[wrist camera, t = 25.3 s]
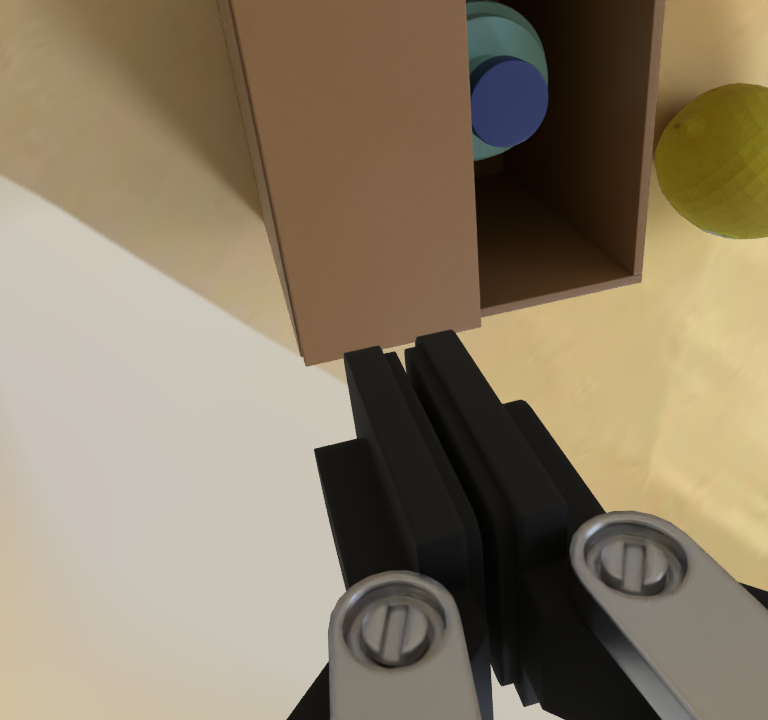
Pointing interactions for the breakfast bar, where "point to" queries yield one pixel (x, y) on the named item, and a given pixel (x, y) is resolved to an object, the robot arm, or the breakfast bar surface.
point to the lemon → (719, 161)
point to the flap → (367, 165)
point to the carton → (549, 159)
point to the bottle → (503, 77)
